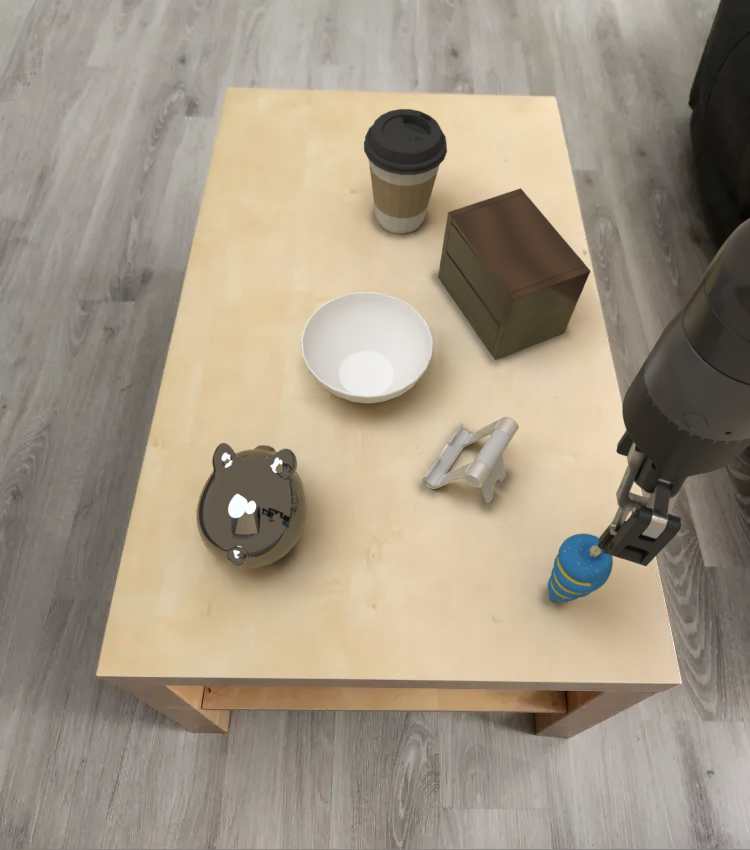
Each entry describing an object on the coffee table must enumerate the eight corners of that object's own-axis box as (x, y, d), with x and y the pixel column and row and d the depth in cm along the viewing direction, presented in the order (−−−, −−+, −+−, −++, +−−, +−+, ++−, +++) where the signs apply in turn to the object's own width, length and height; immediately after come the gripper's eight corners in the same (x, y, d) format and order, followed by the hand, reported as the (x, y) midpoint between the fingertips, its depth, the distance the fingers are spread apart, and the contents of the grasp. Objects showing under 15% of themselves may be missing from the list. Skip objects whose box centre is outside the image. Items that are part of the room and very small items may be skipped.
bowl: (367, 451, 83) (368, 421, 77) (278, 374, 88) (273, 341, 82) (453, 374, 89) (460, 341, 83) (365, 307, 94) (366, 271, 88)
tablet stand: (457, 431, 84) (467, 394, 77) (514, 462, 82) (529, 428, 75) (421, 483, 81) (428, 449, 73) (479, 518, 79) (492, 487, 71)
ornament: (520, 596, 74) (555, 547, 61) (549, 564, 76) (589, 510, 63) (558, 630, 72) (602, 588, 59) (587, 597, 74) (636, 549, 61)
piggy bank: (317, 473, 81) (312, 424, 71) (298, 597, 73) (290, 562, 63) (224, 464, 81) (206, 414, 71) (196, 587, 74) (171, 550, 64)
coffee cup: (452, 217, 103) (467, 130, 91) (402, 256, 99) (409, 171, 86) (397, 181, 107) (403, 92, 94) (346, 217, 103) (345, 129, 90)
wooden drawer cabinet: (503, 254, 100) (521, 188, 90) (564, 332, 93) (591, 270, 82) (437, 277, 97) (447, 211, 87) (495, 360, 90) (513, 299, 80)
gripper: (774, 510, 35) (657, 600, 49) (786, 308, 42) (680, 437, 56) (627, 466, 36) (554, 566, 50) (662, 276, 43) (589, 411, 57)
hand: (620, 498), depth 53 cm, fingers open, 8 cm apart
